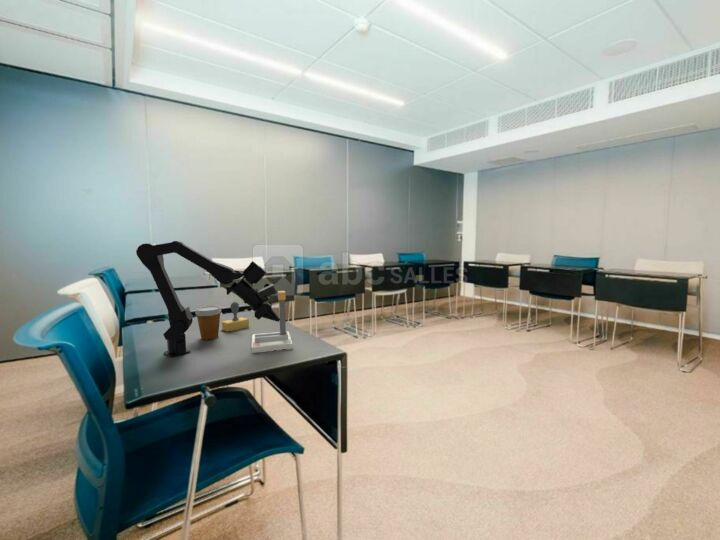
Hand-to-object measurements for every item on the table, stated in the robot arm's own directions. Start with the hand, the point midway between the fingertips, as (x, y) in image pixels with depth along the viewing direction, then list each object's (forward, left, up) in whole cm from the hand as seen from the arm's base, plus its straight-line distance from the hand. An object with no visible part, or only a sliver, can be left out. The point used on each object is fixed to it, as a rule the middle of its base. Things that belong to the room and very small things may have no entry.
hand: (279, 320), depth 126 cm
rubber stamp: (-32, +1, -9) cm, 33 cm away
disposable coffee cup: (-28, -13, -9) cm, 32 cm away
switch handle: (+1, +1, -6) cm, 7 cm away
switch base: (-2, -3, -9) cm, 9 cm away
